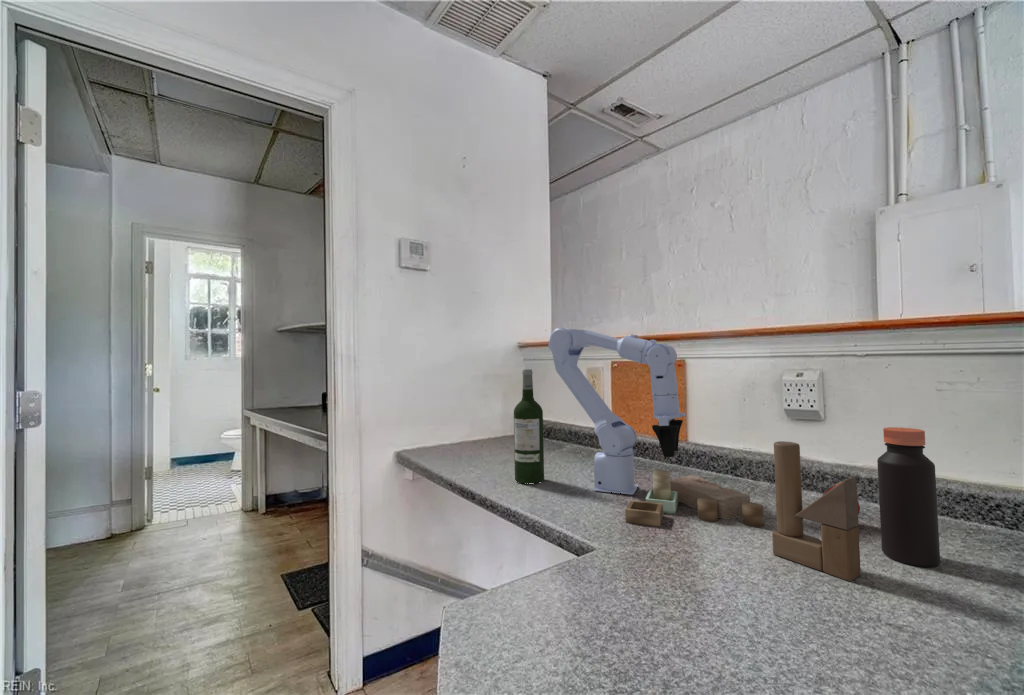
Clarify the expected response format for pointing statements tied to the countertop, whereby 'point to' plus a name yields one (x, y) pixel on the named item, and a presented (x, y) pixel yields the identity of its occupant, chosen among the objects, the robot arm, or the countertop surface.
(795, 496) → the wooden block
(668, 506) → the tray
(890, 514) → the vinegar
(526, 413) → the wine bottle
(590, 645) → the countertop surface
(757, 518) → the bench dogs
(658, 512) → the socket block
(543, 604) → the countertop surface
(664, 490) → the dowel
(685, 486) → the brick
